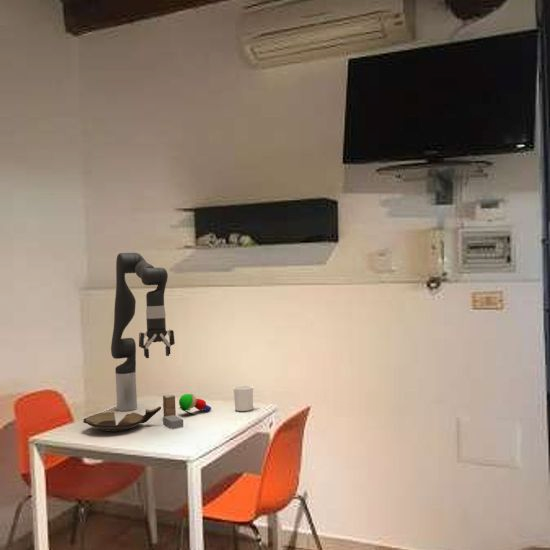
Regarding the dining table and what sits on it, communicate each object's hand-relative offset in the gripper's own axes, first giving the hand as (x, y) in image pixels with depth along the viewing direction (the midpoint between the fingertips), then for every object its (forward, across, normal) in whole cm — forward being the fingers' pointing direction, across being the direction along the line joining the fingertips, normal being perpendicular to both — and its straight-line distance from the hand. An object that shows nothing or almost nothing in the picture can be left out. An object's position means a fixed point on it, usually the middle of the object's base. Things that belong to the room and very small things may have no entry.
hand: (157, 356), depth 241 cm
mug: (+30, -43, -8) cm, 53 cm away
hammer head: (+29, -6, -2) cm, 30 cm away
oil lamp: (+30, +13, -10) cm, 34 cm away
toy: (+30, -22, -16) cm, 40 cm away
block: (+29, -9, -14) cm, 34 cm away
